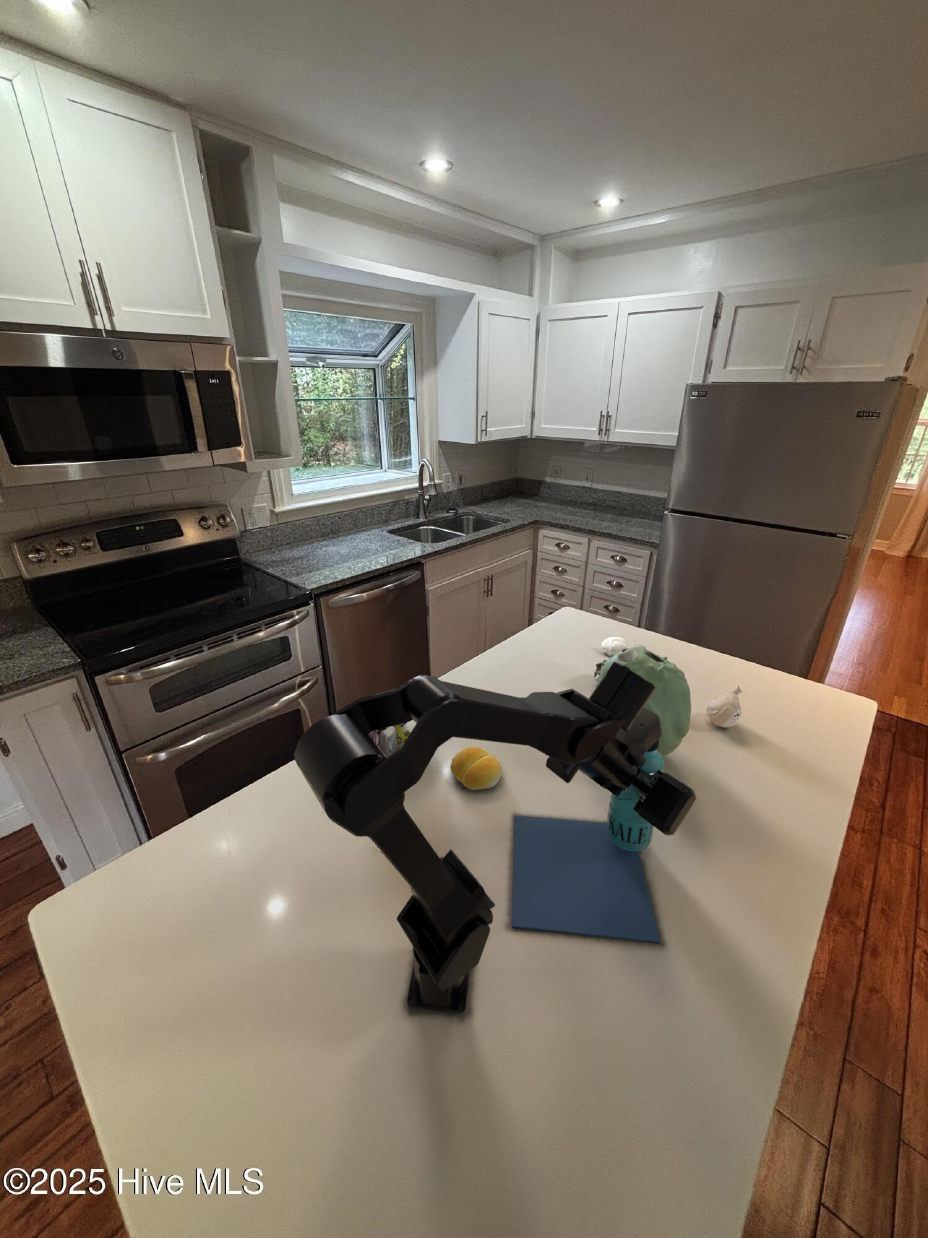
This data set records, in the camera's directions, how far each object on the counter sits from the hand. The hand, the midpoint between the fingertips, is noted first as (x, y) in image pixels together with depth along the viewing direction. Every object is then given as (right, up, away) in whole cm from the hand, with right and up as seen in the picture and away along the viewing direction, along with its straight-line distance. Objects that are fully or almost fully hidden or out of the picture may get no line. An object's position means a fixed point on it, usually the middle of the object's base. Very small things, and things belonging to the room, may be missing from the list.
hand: (639, 786), depth 71 cm
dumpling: (+13, +15, +57) cm, 60 cm away
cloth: (-9, -12, -1) cm, 15 cm away
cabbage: (+7, -1, +23) cm, 24 cm away
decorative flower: (-38, 0, +24) cm, 45 cm away
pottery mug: (+10, +8, +42) cm, 44 cm away
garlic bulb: (+27, +3, +30) cm, 40 cm away
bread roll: (-23, -4, +17) cm, 29 cm away
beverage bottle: (-1, -10, +3) cm, 10 cm away
